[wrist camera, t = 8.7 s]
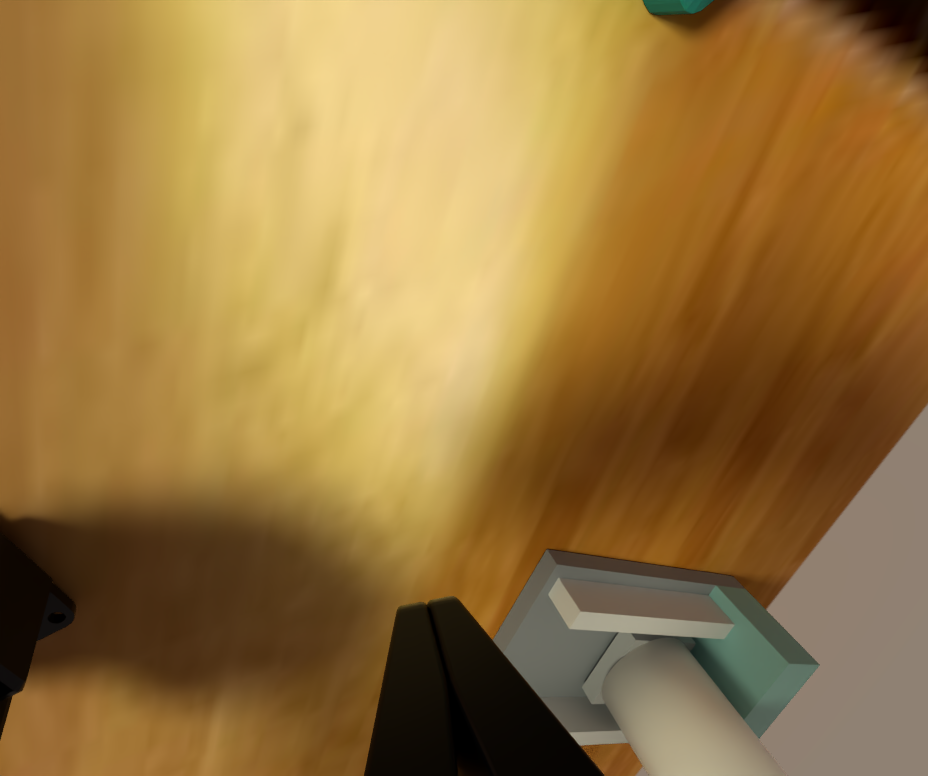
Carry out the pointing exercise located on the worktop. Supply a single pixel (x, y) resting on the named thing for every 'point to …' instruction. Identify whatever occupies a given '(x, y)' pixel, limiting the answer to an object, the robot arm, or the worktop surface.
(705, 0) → the digital multimeter
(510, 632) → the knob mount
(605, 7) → the worktop surface
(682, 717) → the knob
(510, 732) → the robot arm
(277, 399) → the worktop surface
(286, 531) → the worktop surface
